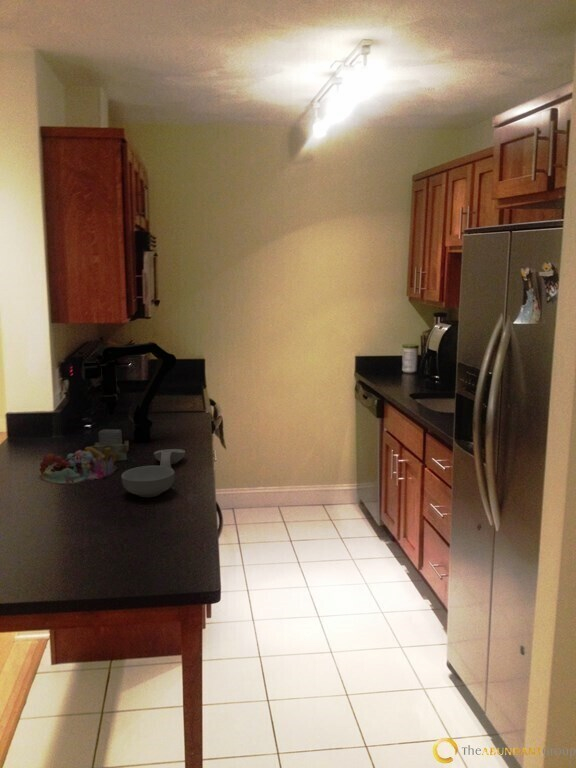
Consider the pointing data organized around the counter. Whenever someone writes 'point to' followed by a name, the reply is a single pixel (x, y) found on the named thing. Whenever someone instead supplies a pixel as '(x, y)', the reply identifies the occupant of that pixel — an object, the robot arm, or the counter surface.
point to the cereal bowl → (148, 480)
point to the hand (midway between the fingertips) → (111, 415)
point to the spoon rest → (169, 456)
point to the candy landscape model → (78, 466)
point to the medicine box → (110, 437)
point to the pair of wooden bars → (114, 449)
